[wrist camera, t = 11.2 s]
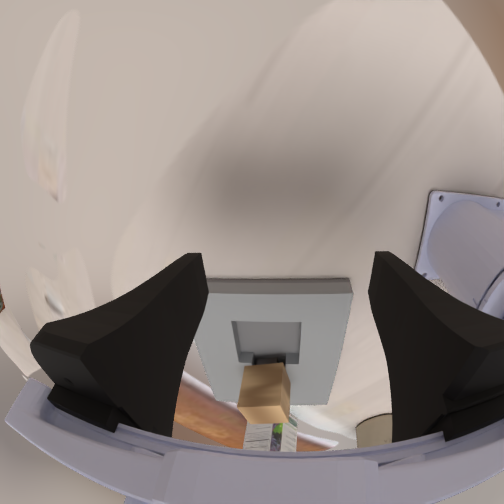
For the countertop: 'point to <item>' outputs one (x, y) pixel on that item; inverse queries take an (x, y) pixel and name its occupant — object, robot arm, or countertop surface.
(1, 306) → the milk carton
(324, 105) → the countertop surface
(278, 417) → the keyhole peg
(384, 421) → the travel mug
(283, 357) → the keyhole board
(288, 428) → the syrup box
